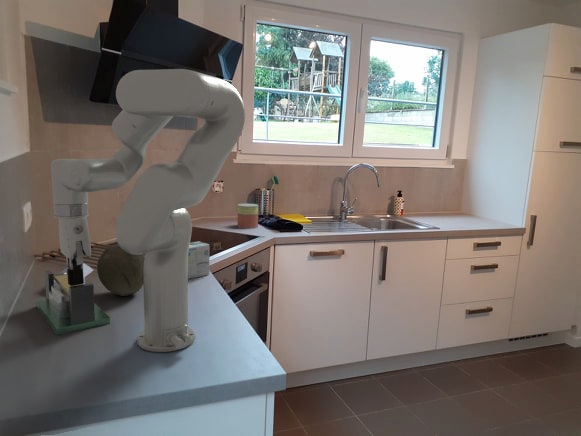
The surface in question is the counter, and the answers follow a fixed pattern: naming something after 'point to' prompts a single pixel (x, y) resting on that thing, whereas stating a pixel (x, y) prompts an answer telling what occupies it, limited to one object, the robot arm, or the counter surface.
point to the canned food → (247, 216)
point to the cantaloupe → (121, 271)
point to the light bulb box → (198, 259)
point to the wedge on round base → (85, 272)
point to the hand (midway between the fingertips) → (76, 284)
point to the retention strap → (63, 281)
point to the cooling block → (70, 307)
